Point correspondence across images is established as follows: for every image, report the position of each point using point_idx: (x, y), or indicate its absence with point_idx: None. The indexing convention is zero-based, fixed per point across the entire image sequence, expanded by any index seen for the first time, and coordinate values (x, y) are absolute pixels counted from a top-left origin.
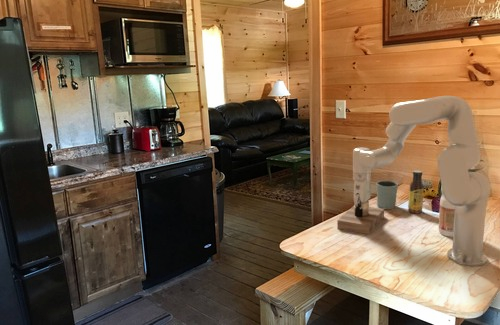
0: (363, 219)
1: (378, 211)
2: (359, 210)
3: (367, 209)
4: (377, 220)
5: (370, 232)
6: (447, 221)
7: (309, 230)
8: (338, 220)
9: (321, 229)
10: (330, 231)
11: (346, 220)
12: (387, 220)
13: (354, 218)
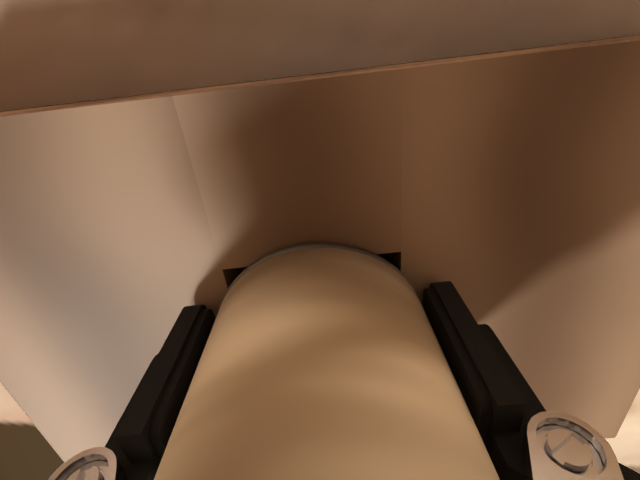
0: (513, 231)
1: (18, 177)
2: (536, 403)
3: (350, 319)
4: (263, 82)
5: (581, 42)
6: None
7: (632, 462)
8: (617, 427)
9: None
10: None
11: (610, 376)
12: (27, 13)
13: (512, 336)
